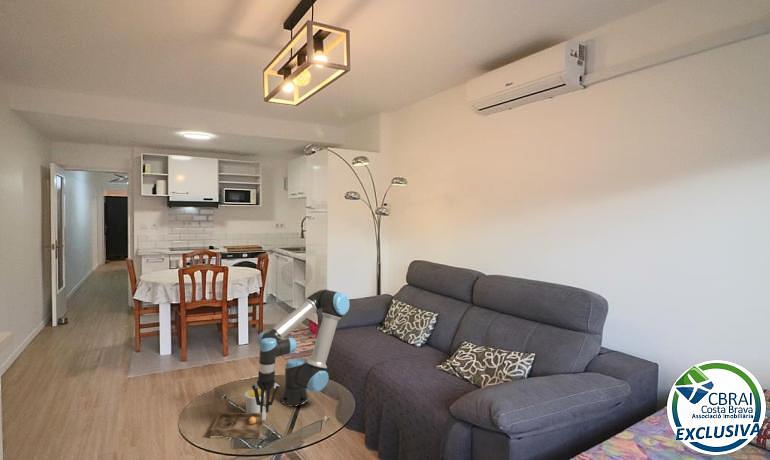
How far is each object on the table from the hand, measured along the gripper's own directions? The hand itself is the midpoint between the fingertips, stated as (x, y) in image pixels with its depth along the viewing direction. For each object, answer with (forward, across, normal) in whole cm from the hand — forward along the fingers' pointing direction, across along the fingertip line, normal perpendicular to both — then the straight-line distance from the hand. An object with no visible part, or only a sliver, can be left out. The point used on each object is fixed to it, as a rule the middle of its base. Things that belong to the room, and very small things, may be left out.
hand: (263, 418), depth 204 cm
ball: (+1, +5, 0) cm, 5 cm away
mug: (+5, +7, -18) cm, 20 cm away
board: (+5, +12, 0) cm, 13 cm away
